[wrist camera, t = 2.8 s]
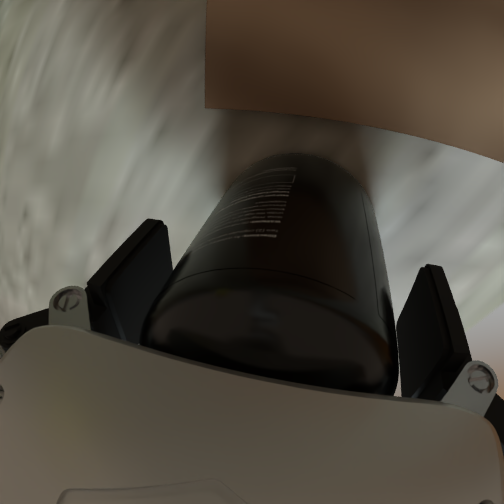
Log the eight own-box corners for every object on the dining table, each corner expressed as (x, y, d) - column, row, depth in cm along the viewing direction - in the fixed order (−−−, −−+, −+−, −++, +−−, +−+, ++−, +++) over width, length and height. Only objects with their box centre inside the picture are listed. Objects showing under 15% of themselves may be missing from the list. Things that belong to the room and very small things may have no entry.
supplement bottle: (223, 266, 17) (114, 489, 7) (231, 136, 13) (-2, 381, 3) (353, 294, 16) (331, 544, 6) (394, 169, 12) (482, 503, 2)
